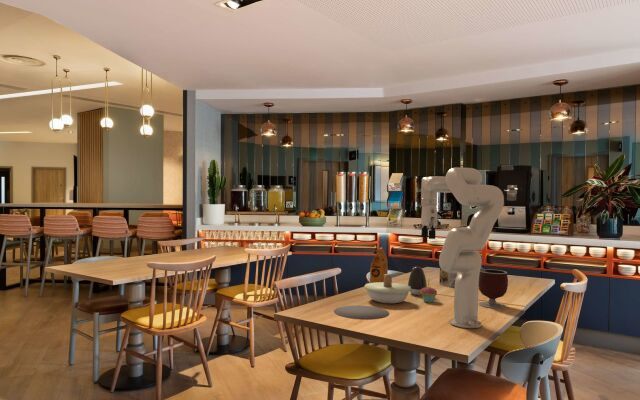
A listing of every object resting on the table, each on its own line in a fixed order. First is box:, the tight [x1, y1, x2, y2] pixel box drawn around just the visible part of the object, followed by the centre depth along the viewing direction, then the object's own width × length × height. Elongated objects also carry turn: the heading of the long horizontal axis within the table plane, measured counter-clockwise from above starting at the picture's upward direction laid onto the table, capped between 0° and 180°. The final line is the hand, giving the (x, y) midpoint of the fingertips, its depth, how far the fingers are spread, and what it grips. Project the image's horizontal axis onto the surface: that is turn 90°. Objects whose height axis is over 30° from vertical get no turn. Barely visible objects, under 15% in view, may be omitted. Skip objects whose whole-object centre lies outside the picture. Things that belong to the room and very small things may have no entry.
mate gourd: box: [478, 266, 509, 310], centre depth 229 cm, size 16×14×20 cm
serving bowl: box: [366, 290, 409, 304], centre depth 232 cm, size 21×21×7 cm
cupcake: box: [420, 279, 438, 303], centre depth 236 cm, size 9×8×12 cm
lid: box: [364, 273, 411, 293], centre depth 232 cm, size 23×23×7 cm
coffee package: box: [369, 247, 389, 283], centre depth 278 cm, size 10×12×22 cm
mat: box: [333, 305, 390, 321], centre depth 208 cm, size 25×25×1 cm
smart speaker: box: [407, 266, 428, 296], centre depth 253 cm, size 10×10×15 cm
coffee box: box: [438, 267, 458, 288], centre depth 280 cm, size 9×6×16 cm
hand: (428, 237), depth 224 cm, fingers open, 9 cm apart
